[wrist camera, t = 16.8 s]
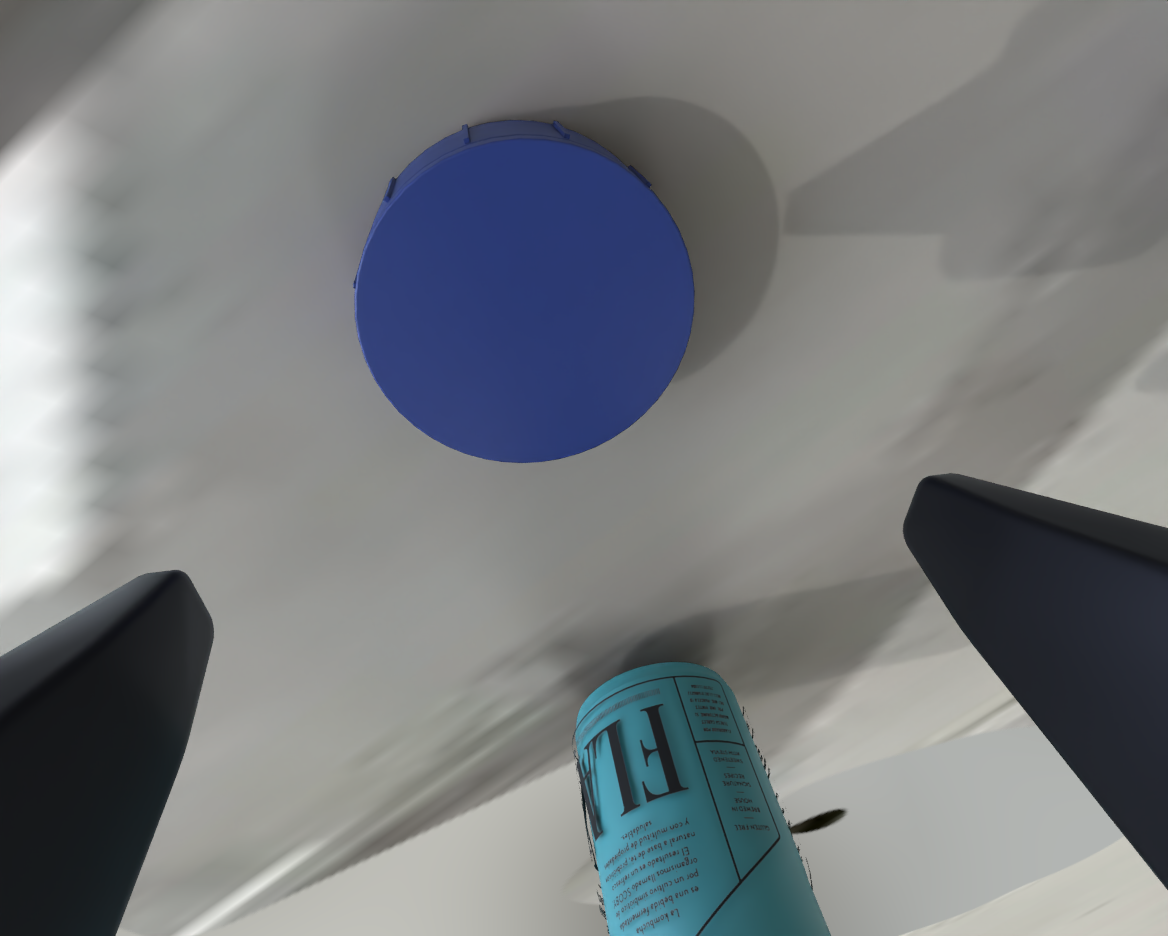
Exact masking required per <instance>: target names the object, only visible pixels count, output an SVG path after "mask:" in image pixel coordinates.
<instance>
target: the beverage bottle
mask: <svg viewBox="0 0 1168 936" xmlns="http://www.w3.org/2000/svg"><path fill="white" fill-rule="evenodd" d="M743 715H744V707H743ZM743 715H742V712H741V710H740V707H739V705H738V703H737V700H736V698H735V695H734V693H733V692H732V690H731V688H730V687H729V686H728V685H727V684H726V682H725V681H724V680H723V679H722V678H721V677H720V675H718V674H717V673H716V672H715V671H713V670H711V669H709V668H707V667H704V666H701V665H698V664H693V663H686V662H665V663H657V664H651V665H647V666H642V667H639V668H635V669H632V670H630V671H627V672H624V673H622V674H620V675H618V676H616V677H614V678H612V679H610V680H609V681H607V682H605V683H604V684H603V685H601V686H600V687H598V688H597V689H596V690H595V691H594V692H593V693H592V694H591V695H590V696H589V697H588V698H587V699H586V701H585V702H584V703H583V705H582V707H581V709H580V711H579V713H578V717H577V725H576V730H575V732H576V745H577V751H578V756H579V759H577V758H576V759H577V760H578V762H577V768H578V772H579V777H580V781H581V782H580V784H581V793H582V801H583V804H582V806H583V811H584V818H585V824H586V830H587V836H588V835H589V834H588V829H587V821H586V806H587V810H588V814H589V819H590V825H591V831H592V836H593V842H594V848H595V854H596V859H597V865H598V867H597V865H596V861H595V857H594V861H595V865H594V867H595V868H596V869H597V871H599V877H600V882H601V887H600V886H599V887H600V888H601V889H602V894H603V898H601V897H600V898H601V900H602V899H604V900H603V901H601V900H600V899H599V901H600V902H601V903H602V902H604V905H605V911H606V915H605V914H604V913H605V911H604V912H603V911H602V910H601V909H600V910H601V912H602V913H603V914H604V915H605V916H606V917H607V922H608V926H607V927H608V931H609V932H608V933H609V934H610V936H831V934H830V932H829V929H828V927H827V925H826V922H825V920H824V917H823V915H822V912H821V910H820V908H819V905H818V903H817V900H816V898H815V896H814V893H813V888H812V884H811V886H810V883H809V881H808V878H807V874H806V871H805V868H804V866H803V864H802V860H801V858H800V855H799V853H798V851H799V847H798V849H797V848H796V845H795V843H794V840H793V837H792V835H791V834H792V833H790V829H789V828H790V826H789V825H790V823H788V825H787V823H786V820H785V818H784V816H783V813H784V810H782V811H783V812H782V811H781V808H780V806H779V803H778V801H777V797H778V796H777V795H778V794H777V793H776V794H777V795H776V796H775V794H774V791H773V789H772V786H771V784H770V781H769V775H770V773H769V774H768V776H767V774H766V771H765V768H766V767H765V766H766V761H765V758H764V762H765V763H764V766H763V764H762V762H761V759H763V758H762V755H761V758H760V757H759V754H760V751H759V749H758V752H757V746H755V744H754V742H753V728H752V737H751V735H750V732H749V728H748V727H749V726H747V725H748V724H747V723H746V722H745V720H744V717H743ZM747 717H748V716H747ZM746 724H747V725H746ZM575 732H574V735H575ZM574 735H573V738H574ZM572 745H573V740H572ZM572 747H573V746H572ZM573 752H575V753H576V751H575V750H574V751H573ZM574 756H575V754H574ZM575 757H576V756H575ZM574 759H575V758H574ZM768 770H769V767H768ZM585 802H586V806H585ZM788 826H789V827H788ZM588 839H589V840H590V837H589V838H588ZM588 842H589V841H588ZM590 844H591V841H590ZM591 848H592V845H591ZM592 852H593V850H592V851H591V850H590V854H591V853H592ZM593 856H594V853H593ZM591 860H592V859H591ZM810 879H811V874H810ZM811 883H812V881H811ZM598 885H599V884H598ZM596 890H597V889H596ZM597 894H598V893H597ZM597 896H598V897H599V895H597ZM602 905H603V903H602ZM605 919H606V918H605Z"/></svg>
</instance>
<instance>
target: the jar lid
mask: <svg viewBox="0 0 1168 936" xmlns="http://www.w3.org/2000/svg"><path fill="white" fill-rule="evenodd" d="M650 186H651V184H650V182H649V181H647V180H646V179H645V178H644V177H643V176H642V175H641V174H640V173H639V172H638V171H636V170H635V169H634V168H633V167H632V166H631V165H629V167H628V168H627V167H626V166H625V165H624V164H623V163H622V162H621V161H620V160H619V159H618V158H617V157H615V156H614V155H613V154H612V153H611V152H609V151H608V150H606V149H605V148H603V147H602V146H601V145H599V144H598V143H596V142H595V141H593V140H591V139H589V138H587V137H585V136H583V135H581V134H579V133H577V132H575V131H572V130H569V129H566V128H564V127H563V126H562V125H561V124H560V123H559V122H558V121H554V122H553V124H548V123H542V122H537V121H523V120H507V121H498V122H489V123H485V124H481V125H477V126H474V127H470V128H468V125H467V124H466V125H463V126H462V131H459V132H457V133H455V134H452V135H450V136H448V137H446V138H444V139H442V140H441V141H439V142H438V143H436V144H434V145H433V146H431V147H430V148H428V149H426V150H425V151H424V152H423V153H422V154H421V155H419V156H418V157H417V158H416V159H415V160H414V161H412V162H411V163H410V164H409V165H408V166H407V167H406V169H405V170H404V171H403V172H402V173H401V174H400V176H399V177H398V178H397V179H395V178H394V177H392V179H391V180H390V182H389V185H388V188H387V191H386V194H385V197H384V199H383V201H382V203H381V206H380V208H379V210H378V212H377V215H376V217H375V219H374V222H373V225H372V228H371V231H370V233H369V236H368V239H367V242H366V245H365V247H364V250H363V254H362V257H361V261H360V265H359V268H358V272H357V275H356V278H355V281H354V283H353V288H355V320H356V326H357V332H358V338H359V342H360V345H361V348H362V351H363V354H364V358H365V360H366V363H367V365H368V367H369V369H370V371H371V373H372V375H373V377H374V379H375V381H376V382H377V384H378V385H379V387H380V388H381V390H382V391H383V393H384V394H385V396H386V397H387V398H388V400H389V401H390V402H391V403H392V404H393V405H394V407H395V408H396V409H397V410H398V411H399V412H400V413H401V414H402V415H403V416H404V417H405V418H406V419H407V420H408V421H410V422H411V423H412V424H413V425H414V426H415V427H417V428H418V429H420V430H421V431H422V432H424V433H425V434H427V435H428V436H429V437H431V438H433V439H435V440H437V441H438V442H440V443H442V444H444V445H446V446H448V447H450V448H453V449H455V450H458V451H460V452H463V453H465V454H468V455H472V456H476V457H479V458H483V459H488V460H494V461H500V462H514V463H530V462H543V461H550V460H556V459H561V458H565V457H568V456H572V455H576V454H579V453H581V452H584V451H587V450H589V449H592V448H594V447H597V446H598V445H600V444H602V443H604V442H606V441H608V440H610V439H612V438H613V437H615V436H616V435H618V434H619V433H621V432H622V431H624V430H625V429H627V428H628V427H630V426H631V425H632V424H633V423H634V422H636V421H637V420H638V419H639V418H640V417H642V416H643V415H644V414H645V413H646V412H647V410H648V409H649V408H650V407H651V406H652V405H653V404H654V403H655V402H656V401H657V400H658V398H659V397H660V396H661V394H662V393H663V392H664V390H665V389H666V388H667V386H668V385H669V383H670V381H671V379H672V378H673V376H674V374H675V373H676V371H677V369H678V367H679V364H680V362H681V360H682V358H683V355H684V353H685V350H686V347H687V343H688V340H689V337H690V333H691V328H692V321H693V315H694V294H695V291H694V281H693V272H692V267H691V263H690V259H689V255H688V251H687V248H686V246H685V243H684V241H683V238H682V236H681V233H680V231H679V229H678V227H677V225H676V224H675V222H674V220H673V218H672V217H671V215H670V213H669V211H668V210H667V209H666V207H665V206H664V205H663V204H662V202H661V201H660V200H659V198H658V197H657V196H656V195H655V193H654V192H653V191H652V190H651V189H650Z"/></svg>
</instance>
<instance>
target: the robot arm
mask: <svg viewBox="0 0 1168 936" xmlns="http://www.w3.org/2000/svg"><path fill="white" fill-rule="evenodd" d="M903 534H904V539H905V542H906V544H907V546H908V548H909V549H910V551H911V552H912V554H913V555H914V557H915V559H916V560H917V562H918V563H919V565H920V566H921V568H922V570H923V571H924V573H925V574H926V576H927V577H928V579H929V580H930V582H931V584H932V585H933V587H934V588H935V590H936V591H937V593H938V595H939V596H940V598H941V599H942V601H943V602H944V604H945V606H946V607H947V609H948V610H949V612H950V613H951V615H952V616H953V618H954V619H955V621H956V622H957V624H958V625H959V627H960V628H961V630H962V631H963V632H964V634H965V635H966V636H967V638H968V639H969V640H970V642H971V643H972V644H973V646H974V647H975V648H976V649H977V651H978V652H979V653H980V655H981V656H982V657H983V658H984V660H985V661H986V662H987V663H988V665H989V666H990V667H991V668H992V670H993V671H994V672H995V673H996V675H997V676H998V677H999V678H1000V680H1001V681H1002V682H1003V683H1004V685H1005V686H1006V687H1007V688H1008V690H1009V691H1010V692H1011V694H1012V695H1013V696H1014V697H1015V699H1016V700H1017V701H1018V702H1019V704H1020V705H1021V706H1022V707H1023V709H1024V710H1025V711H1026V712H1027V714H1028V715H1029V716H1030V717H1031V719H1032V720H1033V721H1034V722H1035V724H1036V725H1037V726H1038V728H1039V729H1040V730H1041V731H1042V732H1043V734H1044V735H1045V736H1046V738H1047V739H1048V740H1049V741H1050V742H1051V744H1052V745H1053V746H1054V748H1055V749H1056V750H1057V751H1058V752H1059V754H1060V755H1061V756H1062V758H1063V759H1064V760H1065V761H1066V763H1067V764H1068V765H1069V767H1070V768H1071V769H1072V770H1073V771H1074V773H1075V774H1076V775H1077V777H1078V778H1079V779H1080V780H1081V781H1082V783H1083V784H1084V785H1085V787H1086V788H1087V789H1088V790H1089V792H1090V793H1091V794H1092V795H1093V797H1094V798H1095V799H1096V801H1097V802H1098V803H1099V804H1100V806H1101V807H1102V808H1103V809H1104V811H1105V812H1106V813H1107V814H1108V816H1109V817H1110V818H1111V819H1112V821H1113V822H1114V823H1115V824H1116V826H1117V827H1118V828H1119V829H1120V831H1121V832H1122V833H1123V834H1124V836H1125V837H1126V838H1127V840H1128V841H1129V842H1130V843H1131V845H1132V846H1133V847H1134V848H1135V850H1136V851H1137V852H1138V853H1139V855H1140V856H1141V857H1142V858H1143V860H1144V861H1145V862H1146V863H1147V865H1148V866H1149V867H1150V868H1151V870H1152V871H1153V872H1154V874H1155V875H1156V876H1157V877H1158V879H1159V880H1160V881H1161V882H1162V884H1163V885H1164V886H1165V887H1166V889H1167V890H1168V528H1165V527H1161V526H1157V525H1153V524H1150V523H1146V522H1142V521H1138V520H1134V519H1130V518H1126V517H1123V516H1119V515H1115V514H1111V513H1107V512H1103V511H1099V510H1095V509H1092V508H1088V507H1084V506H1080V505H1076V504H1072V503H1068V502H1065V501H1061V500H1057V499H1053V498H1049V497H1045V496H1041V495H1037V494H1034V493H1030V492H1026V491H1022V490H1018V489H1014V488H1010V487H1007V486H1003V485H999V484H995V483H991V482H987V481H983V480H979V479H976V478H972V477H968V476H964V475H960V474H953V473H949V474H941V475H933V476H928V477H925V478H924V479H922V480H921V482H920V483H919V484H918V486H917V489H916V491H915V494H914V497H913V499H912V502H911V505H910V507H909V510H908V513H907V515H906V518H905V521H904V524H903ZM213 638H214V628H213V622H212V619H211V616H210V614H209V612H208V610H207V609H206V607H205V605H204V603H203V601H202V599H201V598H200V596H199V594H198V592H197V590H196V588H195V587H194V585H193V583H192V581H191V579H190V578H189V577H188V575H187V574H186V573H184V572H182V571H179V570H171V571H163V572H155V573H147V574H144V575H141V576H139V577H137V578H135V579H133V580H132V581H130V582H128V583H126V584H125V585H123V586H121V587H119V588H118V589H116V590H114V591H113V592H111V593H109V594H107V595H106V596H104V597H102V598H101V599H99V600H97V601H95V602H94V603H92V604H90V605H88V606H87V607H85V608H83V609H82V610H80V611H78V612H76V613H75V614H73V615H71V616H70V617H68V618H66V619H64V620H63V621H61V622H59V623H58V624H56V625H54V626H52V627H51V628H49V629H47V630H45V631H44V632H42V633H40V634H39V635H37V636H35V637H33V638H32V639H30V640H28V641H27V642H25V643H23V644H21V645H20V646H18V647H16V648H14V649H13V650H11V651H9V652H8V653H6V654H4V655H2V656H1V657H0V936H115V935H116V933H117V930H118V928H119V925H120V922H121V920H122V917H123V915H124V912H125V909H126V907H127V904H128V901H129V899H130V896H131V894H132V891H133V888H134V886H135V883H136V880H137V878H138V875H139V873H140V870H141V867H142V865H143V862H144V859H145V857H146V854H147V852H148V849H149V846H150V844H151V841H152V839H153V836H154V833H155V831H156V828H157V825H158V823H159V820H160V818H161V815H162V812H163V810H164V807H165V804H166V802H167V799H168V797H169V794H170V791H171V789H172V786H173V783H174V781H175V778H176V776H177V773H178V770H179V767H180V764H181V761H182V759H183V756H184V753H185V749H186V746H187V742H188V739H189V735H190V732H191V728H192V724H193V720H194V716H195V712H196V708H197V704H198V700H199V696H200V692H201V688H202V684H203V680H204V676H205V672H206V668H207V664H208V660H209V656H210V652H211V648H212V644H213Z"/></svg>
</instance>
